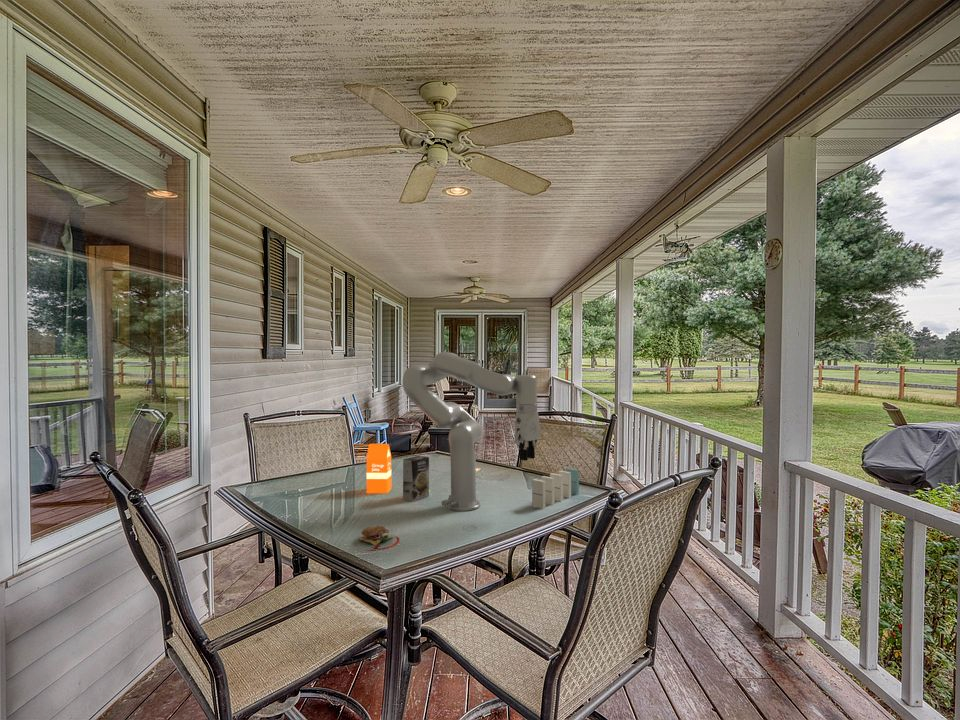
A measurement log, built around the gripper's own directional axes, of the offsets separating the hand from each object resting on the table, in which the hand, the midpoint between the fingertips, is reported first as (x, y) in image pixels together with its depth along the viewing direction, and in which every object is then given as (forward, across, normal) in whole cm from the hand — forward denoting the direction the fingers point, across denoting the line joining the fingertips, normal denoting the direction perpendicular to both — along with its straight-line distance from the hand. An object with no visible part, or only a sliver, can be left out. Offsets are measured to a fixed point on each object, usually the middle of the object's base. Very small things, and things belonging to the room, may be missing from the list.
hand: (527, 458), depth 164 cm
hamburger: (+20, -53, +18) cm, 59 cm away
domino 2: (+19, +13, 0) cm, 23 cm away
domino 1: (+19, +7, 0) cm, 20 cm away
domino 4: (+19, +25, 0) cm, 32 cm away
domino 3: (+19, +19, 0) cm, 27 cm away
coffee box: (+19, -16, +44) cm, 51 cm away
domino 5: (+19, +31, 0) cm, 36 cm away
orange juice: (+19, -20, +64) cm, 70 cm away
